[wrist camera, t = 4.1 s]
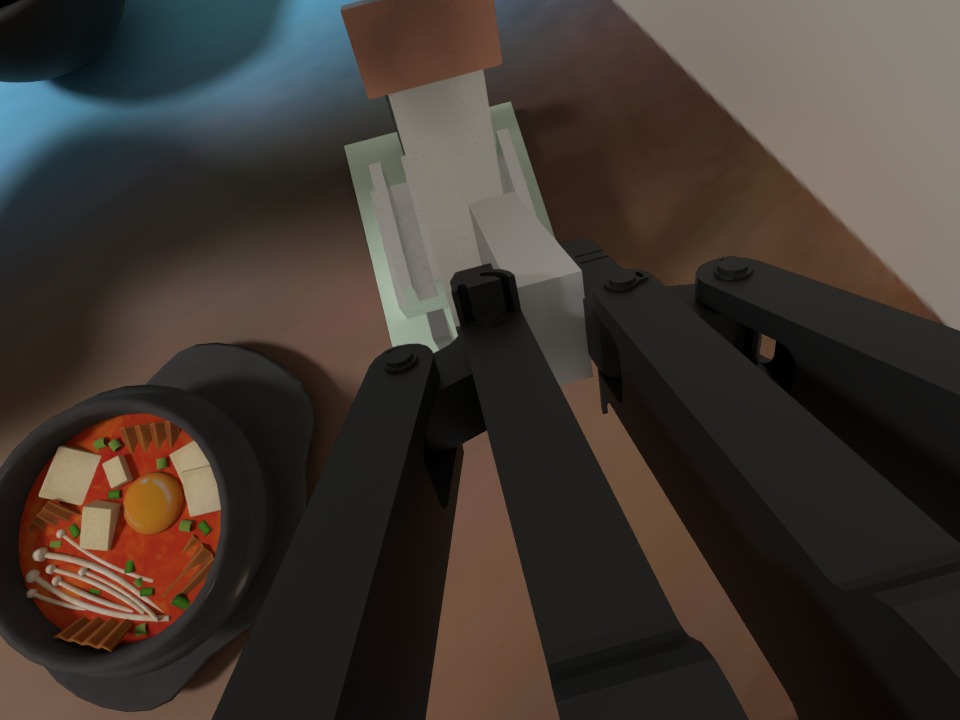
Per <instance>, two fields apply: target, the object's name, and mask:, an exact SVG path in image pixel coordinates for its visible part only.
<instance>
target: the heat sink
mask: <svg viewBox="0 0 960 720" xmlns="http://www.w3.org/2000/svg"><path fill="white" fill-rule="evenodd" d="M385 97H386V100H387V103H388V106H389V109H390V113H391V116H392V119H393V122H394V125H395V128H396V132H397V135H398V138H399V141H400V144H401V147H402V151H403V154H404V156H400V157H401V161H402V164H403V168H404V172H405V176H406V179H407V182H405V183H401V184H397V185H394V186H390V185H389V183H388V180H387V178H386V175H385V173H384V171H383V168H382V166H381V163H380V162H378V163H374V164H371V165H368V166H369V170H370V174H371V178H372V182H373V186H374V190H375V191H371V192H370V194H371V198H372V202H373V206H374V210H375V214H376V218H377V222H378V226H379V230H380V234H381V238H382V242H383V246H384V251H385V255H386V259H387V263H388V267H389V271H390V275H391V279H392V283H393V287H394V291H395V295H396V299H397V303H398V307H399V308H400V310H401V311H402V313H403V314H404V316H405V317H406V319H407V318H411V317H414V316H418V315H422V314H425V313H426V314H427V318H428V322H429V326H430V330H431V334H432V338H433V340H434V342H435V344H436V345H437V347H438V349H439V350H441V349H442V348H444V347H446V346H448V345H449V344H450V343H452V342H453V341H454V340H455V339H454V336H453V333H452V331H451V328H450V325H449V323H448V320H447V317H446V315H445V312H444V310H443V309H444V308H448V307H449V303H448V300H447V296H446V293H445V289H444V286H443V283H442V279H441V276H440V272H439V269H438V265H437V262H436V258H435V255H434V252H433V248H432V245H431V241H430V238H429V234H428V231H427V227H426V224H425V220H424V217H423V214H422V210H421V207H420V203H419V200H418V196H417V193H416V189H415V186H414V183H413V179H412V176H411V172H410V169H409V165H408V162H407V158H406V155H405V151H404V148H403V145H402V141H401V138H400V134H399V131H398V127H397V124H396V120H395V117H394V114H393V110H392V107H391V103H390V100H389V96H388V95H385ZM496 154H497V160H498V167H499V173H500V179H501V186H502V192H503V194H506V193H510V192H515V194H516V195H517V196H518V197H519V198H520V199H521V201H522V202H523V203H524V204H525V205H526V206H527V208H528V209H529V210H530V211H531V212H532V213H533V214H534V216H535V217H536V218H537V216H536V213H535V209H534V206H533V203H532V200H531V197H530V194H529V191H528V188H527V185H526V181H525V178H524V175H523V172H522V169H521V166H520V163H519V160H518V157H517V153H516V152H515V149H514V146H513V143H512V140H511V136H510V133H509V130H508V128H505V129H502V130H498V131H496Z"/></svg>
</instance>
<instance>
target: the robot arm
mask: <svg viewBox="0 0 960 720" xmlns="http://www.w3.org/2000/svg"><path fill="white" fill-rule="evenodd" d="M468 206H469V211H470V215H471V220H472V224H473V229H474V233H475V237H476V242H477V246H478V251H479V255H480V260H481V264H482V265H481V266H477V267H474V268H470V269H466V270H462V271H458V272H455V274H454V275H453V277H452V279H451V281H450V285H451V289H452V290H451V294H452V298H453V301H454V305H455V309H456V312H457V316H458V319H459V323H460V327H461V331H460V333H459V335H458V336H457V338H456V339H455V340H454V341H453V342H452V343H450V344H449V345H448V346H446V347H444V348H442V349H441V350H439V351H437V352H435V353H433V351H432V350H431V349H430V348H429V347H428V346H426V345H422V344H419V343H416V344H404V345H398V346H395V347H392V348H390V349H388V350H386V351H385V352H383V353H382V354H381V355H379V356H378V357H377V358H375V360H374V361H373V362H372V364H371V365H370V366H369V369H368V371H367V373H366V375H365V378H364V380H363V382H362V384H361V387H360V389H359V391H358V393H357V396H356V398H355V400H354V402H353V404H352V407H351V409H350V411H349V413H348V416H347V418H346V420H345V422H344V425H343V427H342V429H341V431H340V434H339V436H338V438H337V440H336V443H335V445H334V447H333V449H332V451H331V454H330V456H329V458H328V460H327V463H326V465H325V467H324V469H323V472H322V474H321V476H320V478H319V481H318V483H317V485H316V487H315V489H314V492H313V494H312V496H311V498H310V501H309V503H308V505H307V507H306V510H305V512H304V514H303V516H302V519H301V521H300V523H299V525H298V528H297V530H296V532H295V534H294V536H293V539H292V541H291V543H290V545H289V548H288V550H287V552H286V554H285V557H284V559H283V561H282V563H281V566H280V568H279V570H278V572H277V575H276V577H275V579H274V581H273V583H272V586H271V588H270V590H269V592H268V595H267V597H266V599H265V601H264V604H263V606H262V608H261V610H260V613H259V615H258V617H257V619H256V621H255V624H254V626H253V628H252V630H251V633H250V635H249V637H248V639H247V642H246V644H245V646H244V648H243V651H242V653H241V655H240V657H239V660H238V662H237V664H236V666H235V668H234V671H233V673H232V675H231V677H230V680H229V682H228V684H227V686H226V689H225V691H224V693H223V695H222V698H221V700H220V702H219V704H218V707H217V709H216V711H215V713H214V715H213V718H212V720H425V718H426V711H427V705H428V698H429V691H430V684H431V677H432V670H433V663H434V656H435V649H436V642H437V635H438V628H439V621H440V614H441V607H442V600H443V594H444V587H445V580H446V573H447V566H448V559H449V552H450V545H451V538H452V531H453V524H454V517H455V510H456V503H457V496H458V489H459V483H460V476H461V469H462V462H463V455H464V451H463V443H464V442H466V441H468V440H470V439H472V438H474V437H475V436H477V435H479V434H481V433H483V432H484V431H486V430H487V432H488V436H489V440H490V444H491V448H492V452H493V456H494V460H495V463H496V467H497V471H498V475H499V479H500V483H501V487H502V491H503V495H504V499H505V502H506V506H507V510H508V514H509V518H510V522H511V526H512V530H513V534H514V538H515V542H516V545H517V549H518V553H519V557H520V561H521V565H522V569H523V573H524V577H525V581H526V584H527V588H528V592H529V596H530V600H531V604H532V608H533V612H534V616H535V620H536V624H537V627H538V631H539V635H540V639H541V643H542V647H543V651H544V655H545V659H546V663H547V667H548V671H549V675H550V680H551V685H552V689H553V693H554V697H555V701H556V705H557V709H558V713H559V717H560V720H749V719H748V717H747V715H746V714H745V712H744V710H743V708H742V706H741V704H740V702H739V701H738V699H737V697H736V695H735V693H734V691H733V689H732V687H731V686H730V684H729V682H728V680H727V679H726V677H725V675H724V674H723V672H722V670H721V669H720V667H719V665H718V664H717V662H716V660H715V659H714V657H713V656H712V655H711V653H710V652H709V651H708V650H707V649H706V647H705V646H704V645H703V644H702V642H700V641H698V640H696V639H694V638H692V637H690V636H688V634H687V633H686V632H685V631H684V629H683V628H682V626H681V625H680V623H679V621H678V619H677V618H676V616H675V614H674V612H673V610H672V608H671V606H670V604H669V602H668V600H667V598H666V596H665V594H664V592H663V590H662V588H661V586H660V584H659V582H658V580H657V578H656V576H655V574H654V572H653V570H652V568H651V566H650V564H649V562H648V560H647V558H646V557H645V555H644V553H643V551H642V549H641V547H640V545H639V543H638V541H637V539H636V537H635V535H634V533H633V531H632V529H631V527H630V525H629V523H628V521H627V519H626V517H625V515H624V513H623V511H622V509H621V507H620V505H619V503H618V501H617V499H616V497H615V495H614V493H613V491H612V489H611V487H610V485H609V483H608V481H607V479H606V477H605V475H604V473H603V471H602V469H601V467H600V465H599V463H598V461H597V459H596V458H595V456H594V454H593V452H592V450H591V448H590V446H589V444H588V442H587V440H586V438H585V436H584V434H583V432H582V430H581V428H580V426H579V424H578V422H577V420H576V418H575V416H574V414H573V412H572V410H571V408H570V406H569V404H568V402H567V400H566V398H565V396H564V394H563V392H562V390H561V388H560V386H559V385H563V384H567V383H570V382H574V381H578V380H581V379H585V378H589V377H593V375H592V365H591V358H592V360H593V361H594V363H595V364H596V366H597V368H598V376H599V386H600V397H601V408H602V412H603V414H606V413H608V409H607V405H608V403H610V405H611V406H612V408H613V409H614V411H615V413H616V414H617V416H618V418H619V419H620V421H621V423H622V424H623V426H624V427H625V429H626V431H627V432H628V434H629V436H630V437H631V439H632V440H633V442H634V444H635V445H636V447H637V449H638V450H639V452H640V454H641V455H642V457H643V458H644V460H645V462H646V463H647V465H648V467H649V468H650V470H651V472H652V473H653V475H654V476H655V478H656V480H657V481H658V483H659V485H660V486H661V488H662V489H663V491H664V493H665V494H666V496H667V498H668V499H669V501H670V503H671V504H672V506H673V507H674V509H675V511H676V512H677V514H678V516H679V517H680V519H681V521H682V522H683V524H684V525H685V527H686V529H687V530H688V532H689V534H690V535H691V537H692V538H693V540H694V542H695V543H696V545H697V547H698V548H699V550H700V552H701V553H702V555H703V556H704V558H705V560H706V561H707V563H708V565H709V566H710V568H711V570H712V571H713V573H714V574H715V576H716V578H717V579H718V581H719V583H720V584H721V586H722V587H723V589H724V591H725V592H726V594H727V596H728V597H729V599H730V601H731V602H732V604H733V605H734V607H735V609H736V610H737V612H738V614H739V615H740V617H741V619H742V620H743V622H744V623H745V625H746V627H747V628H748V630H749V632H750V633H751V635H752V636H753V638H754V640H755V641H756V643H757V645H758V646H759V648H760V650H761V651H762V653H763V654H764V656H765V658H766V659H767V661H768V663H769V664H770V666H771V668H772V669H773V671H774V672H775V674H776V676H777V677H778V679H779V681H780V682H781V684H782V685H783V687H784V689H785V690H786V692H787V694H788V696H789V698H790V700H791V701H792V703H793V706H794V708H795V710H796V713H797V715H798V719H799V720H960V331H958V330H956V329H953V328H950V327H947V326H944V325H941V324H938V323H936V322H933V321H930V320H927V319H924V318H921V317H918V316H915V315H913V314H910V313H907V312H904V311H901V310H898V309H895V308H893V307H890V306H887V305H884V304H881V303H878V302H875V301H873V300H870V299H867V298H864V297H861V296H858V295H855V294H852V293H850V292H847V291H844V290H841V289H838V288H835V287H832V286H830V285H827V284H824V283H821V282H818V281H815V280H812V279H810V278H807V277H804V276H801V275H798V274H795V273H792V272H789V271H787V270H784V269H781V268H778V267H775V266H772V265H769V264H767V263H764V262H761V261H758V260H753V259H749V258H738V257H735V256H730V257H727V258H725V257H722V258H718V259H716V260H712V261H709V262H706V263H705V264H703V265H701V266H700V267H699V268H698V270H697V271H696V281H695V284H690V285H679V286H664V285H663V284H662V283H661V282H659V281H658V280H657V279H656V278H655V277H654V276H653V275H651V274H649V273H647V272H645V271H641V270H635V269H622V268H621V267H620V266H619V265H618V264H617V263H616V262H615V261H614V260H613V259H611V258H610V257H608V255H607V254H606V253H605V252H604V251H602V249H601V248H600V247H599V246H598V245H597V244H596V243H595V242H592V241H589V240H586V239H583V238H577V239H574V240H570V241H566V242H562V243H559V244H558V242H557V241H556V240H555V239H554V238H553V237H552V235H551V234H550V233H549V232H548V231H547V230H546V228H545V227H544V226H543V225H542V224H541V223H540V221H539V220H538V219H537V218H536V217H535V216H534V214H533V213H532V212H531V211H530V210H529V209H528V208H527V206H526V205H525V204H524V203H523V202H522V201H521V199H520V198H519V197H518V196H517V195H516V194H515V192H510V193H506V194H503V195H499V196H495V197H491V198H487V199H484V200H480V201H476V202H472V203H468ZM762 334H764V335H766V336H768V337H770V338H772V339H774V340H776V346H775V353H774V357H773V359H772V360H771V359H768V358H765V357H764V356H762V355H760V347H761V339H762Z"/></svg>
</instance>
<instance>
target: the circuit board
mask: <svg viewBox="0 0 960 720" xmlns="http://www.w3.org/2000/svg"><path fill="white" fill-rule="evenodd" d="M489 110H490V116H491V123H492V129H493V135H494V141H495V148H496V131H498V130H502V129H505V128H508V130H509V133H510V136H511V140H512V143H513V146H514V149H515V152H516V153H517V157H518V160H519V163H520V166H521V169H522V172H523V175H524V178H525V181H526V185H527V188H528V191H529V194H530V197H531V200H532V203H533V206H534V209H535V213H536V216H537V219H538V220H539V221H540V223H541V224H542V225H543V226H544V227H545V228H546V230H547V231H548V232H549V233H550V234H551V235H552V237H553V238H554V239H555V236H554V233H553V230H552V227H551V224H550V221H549V218H548V215H547V212H546V209H545V206H544V202H543V199H542V196H541V193H540V190H539V187H538V184H537V181H536V178H535V175H534V172H533V169H532V166H531V163H530V160H529V156H528V153H527V150H526V147H525V144H524V141H523V138H522V135H521V132H520V129H519V126H518V123H517V120H516V117H515V114H514V110H513V107H512V104H511V102H507V103H503V104H499V105H496V106H492V107H489ZM344 147H345V152H346V156H347V160H348V164H349V168H350V172H351V176H352V181H353V185H354V189H355V193H356V197H357V201H358V205H359V209H360V214H361V218H362V222H363V226H364V230H365V234H366V238H367V243H368V247H369V251H370V255H371V259H372V263H373V267H374V271H375V276H376V280H377V284H378V288H379V292H380V296H381V300H382V305H383V309H384V313H385V317H386V321H387V325H388V329H389V334H390V338H391V342H392V346H393V347H395V346H398V345H404V344H416V343H419V344H422V345H426V346H428V347H429V348H430V349H431V350H432V351H433V353H435V352H437V351H439V349H438V347H437V345H436V344H435V342H434V340H433V338H432V334H431V330H430V326H429V322H428V318H427V314H426V313H425V314H422V315H418V316H414V317H411V318H407V319H406V317H405V316H404V314H403V313H402V311H401V310H400V308H399V307H398V303H397V299H396V295H395V291H394V287H393V283H392V279H391V275H390V271H389V267H388V263H387V259H386V255H385V251H384V246H383V242H382V238H381V234H380V230H379V226H378V222H377V218H376V214H375V210H374V206H373V202H372V198H371V194H370V192H371V191H375V190H374V186H373V182H372V178H371V174H370V170H369V166H368V165H371V164H374V163H378V162H380V163H381V166H382V168H383V171H384V173H385V175H386V178H387V180H388V183H389V185H390V186H394V185H397V184H401V183H405V182H407V179H406V176H405V172H404V168H403V164H402V161H401V157H400V156H404V154H403V151H402V147H401V144H400V141H399V138H398V135H397V132H394V133H391V134H387V135H383V136H379V137H376V138H372V139H368V140H364V141H361V142H357V143H353V144H349V145H346V146H344ZM555 240H556V239H555ZM443 310H444V312H445V315H446V317H447V320H448V323H449V325H450V328H451V331H452V333H453V336H454V339H456V338H457V336H458V334H457V331H456V327H455V324H454V321H453V317H452V314H451V310H450V307H448V308H444V309H443ZM591 359H592V358H591Z"/></svg>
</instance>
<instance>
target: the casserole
mask: <svg viewBox="0 0 960 720" xmlns="http://www.w3.org/2000/svg"><path fill="white" fill-rule="evenodd" d="M314 419H315V414H314V410H313V406H312V402H311V398H310V396H309V394H308V393H307V391H306V390H305V389H304V387H303V386H302V384H301V383H300V381H299V380H298V379H297V378H296V377H295V376H294V375H293V374H291V373H290V372H289V371H288V370H287V369H286V368H285V367H284V366H283V365H281V364H279V363H278V362H276V361H274V360H273V359H271V358H269V357H268V356H266V355H264V354H263V353H260V352H257V351H254V350H251V349H248V348H245V347H242V346H238V345H231V344H223V343H209V344H197V345H195V346H192V347H190V348H188V349H185V350H183V351H181V352H178V353H177V354H176V355H175V356H174V357H173V358H172V359H171V360H170V361H169V362H168V363H167V364H166V365H164V366H163V367H162V368H161V369H160V370H159V371H158V372H157V373H156V374H155V375H154V376H153V377H152V378H151V379H150V380H149V381H148V382H147V384H146V385H137V386H125V387H121V388H117V389H114V390H110V391H107V392H103V393H99V394H97V395H95V396H93V397H91V398H89V399H87V400H85V401H83V402H81V403H79V404H77V405H75V406H73V407H72V408H70V409H68V410H66V411H64V412H62V413H60V414H58V415H55V416H53V417H52V418H50V419H49V420H48V421H46V422H45V423H43V424H42V425H41V426H39V427H38V428H36V429H35V430H34V431H32V432H31V433H30V434H29V435H28V436H27V437H26V438H25V439H24V440H23V441H22V442H21V443H20V444H19V445H18V446H17V447H16V448H15V449H14V450H13V451H12V452H11V454H10V455H9V457H8V458H7V459H6V461H5V462H4V464H3V465H2V466H1V468H0V635H1V636H2V638H3V639H4V640H5V641H6V642H7V644H8V645H9V646H11V647H12V648H13V649H15V650H16V651H17V652H19V653H20V654H21V655H23V656H24V657H25V658H27V659H28V660H30V661H32V662H35V663H37V664H39V665H42V666H44V667H45V668H46V669H47V670H48V672H49V673H50V674H51V675H52V676H53V677H54V679H55V680H56V681H57V682H58V683H60V684H61V685H62V686H64V687H65V688H66V689H68V690H69V691H70V692H72V693H73V694H74V695H76V696H77V697H79V698H81V699H84V700H86V701H88V702H91V703H93V704H95V705H98V706H100V707H103V708H108V709H114V710H119V711H125V712H134V711H148V710H152V709H155V708H157V707H159V706H161V705H163V704H165V703H167V702H170V701H172V700H173V699H174V698H175V697H176V695H177V694H178V693H179V692H180V691H181V690H182V689H183V688H184V687H185V686H186V685H187V683H188V682H189V681H190V680H191V679H192V678H193V677H194V676H195V675H196V674H197V673H198V672H199V670H200V669H201V668H202V667H203V666H204V665H205V664H206V663H207V662H208V661H209V660H210V659H211V657H213V656H214V655H215V654H217V653H218V652H219V651H220V650H222V649H223V648H224V647H226V646H227V645H228V644H230V643H231V642H232V641H233V640H235V639H236V638H237V637H239V636H240V635H241V634H242V633H244V632H245V631H246V630H248V629H249V628H250V627H251V626H253V625H254V624H255V621H256V619H257V617H258V615H259V613H260V610H261V608H262V606H263V604H264V601H265V599H266V597H267V595H268V592H269V590H270V588H271V586H272V583H273V581H274V579H275V577H276V575H277V572H278V570H279V568H280V566H281V563H282V561H283V559H284V557H285V554H286V552H287V550H288V548H289V545H290V543H291V541H292V539H293V536H294V534H295V532H296V530H297V528H298V525H299V523H300V521H301V519H302V516H303V514H304V512H305V510H306V507H307V462H308V457H309V452H310V446H311V441H312V434H313V427H314Z"/></svg>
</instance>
